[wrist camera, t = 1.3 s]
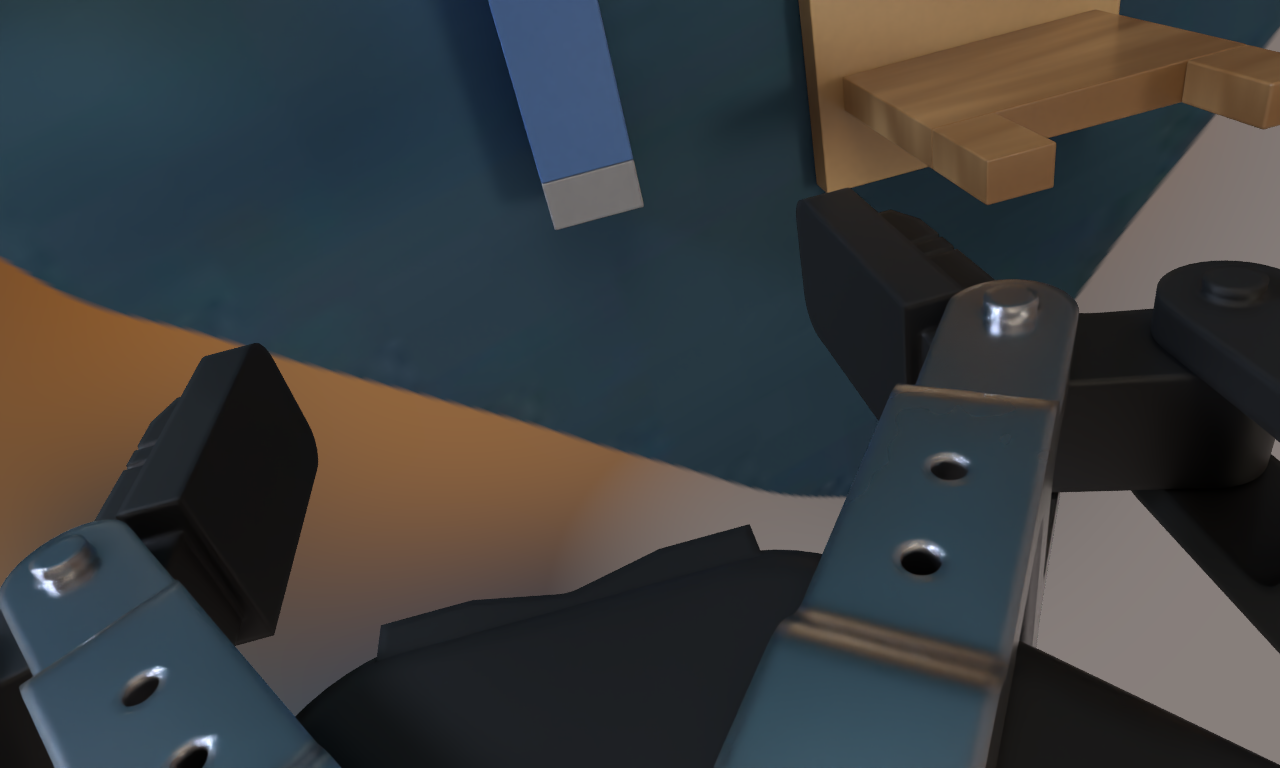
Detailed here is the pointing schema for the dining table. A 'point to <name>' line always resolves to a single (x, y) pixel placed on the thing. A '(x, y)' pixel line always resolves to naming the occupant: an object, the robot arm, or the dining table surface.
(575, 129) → the handle
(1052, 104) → the holder
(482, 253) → the dining table surface
